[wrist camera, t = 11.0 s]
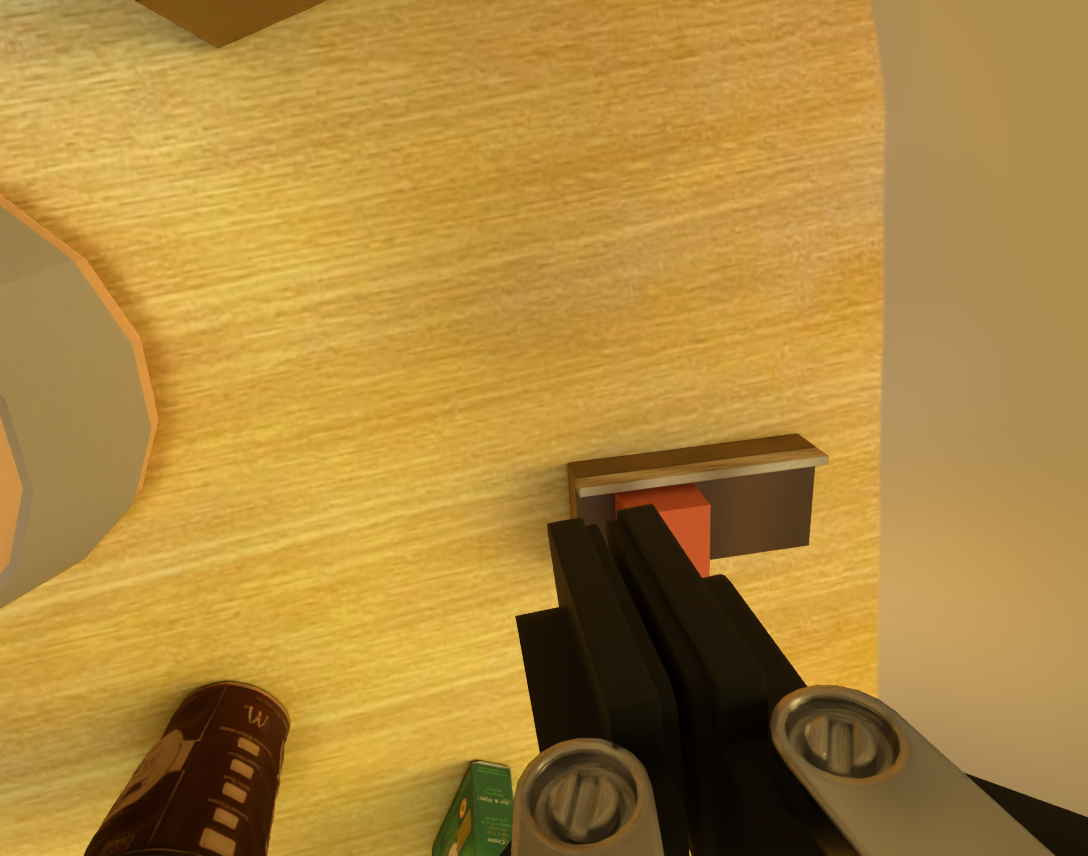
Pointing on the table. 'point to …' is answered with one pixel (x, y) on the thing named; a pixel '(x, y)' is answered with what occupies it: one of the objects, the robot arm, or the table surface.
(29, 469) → the desk lamp
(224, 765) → the coffee cup
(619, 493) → the red cube block
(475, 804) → the coffee box
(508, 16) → the table surface
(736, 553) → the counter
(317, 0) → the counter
